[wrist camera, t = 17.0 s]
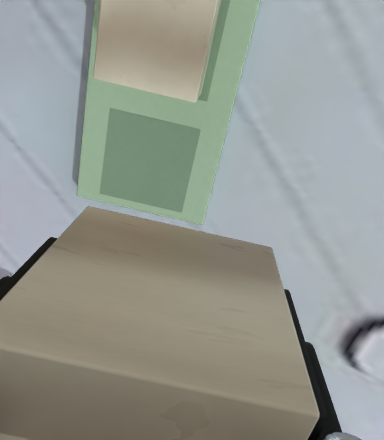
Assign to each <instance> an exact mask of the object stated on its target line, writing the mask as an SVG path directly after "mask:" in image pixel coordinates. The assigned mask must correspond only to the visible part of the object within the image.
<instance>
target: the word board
mask: <svg viewBox="0 0 384 440" xmlns="http://www.w3.org/2000/svg"><path fill="white" fill-rule="evenodd" d="M100 1H101V0H95V3H94V14H93V25H92V35H91V46H90V57H89V67H88V78H87V89H86V100H85V110H84V121H83V132H82V143H81V153H80V164H79V175H78V185H77V196H79V197H84V198H88V199H92V200H97V201H101V202H105V203H109V204H114V205H118V206H122V207H127V208H131V209H135V210H140V211H144V212H148V213H152V214H157V215H161V216H165V217H170V218H174V219H178V220H183V221H187V222H191V223H196V224H200V225H202V224H203V221H204V217H205V214H206V210H207V206H208V202H209V198H210V194H211V190H212V186H213V183H214V179H215V175H216V171H217V167H218V163H219V159H220V155H221V152H222V148H223V144H224V140H225V136H226V132H227V128H228V125H229V121H230V117H231V113H232V109H233V105H234V101H235V97H236V94H237V90H238V86H239V82H240V78H241V74H242V70H243V66H244V63H245V59H246V55H247V51H248V47H249V43H250V39H251V36H252V32H253V28H254V24H255V20H256V16H257V12H258V8H259V5H260V1H261V0H221V5H220V10H219V14H218V19H217V24H216V28H215V33H214V37H213V42H212V46H211V51H210V56H209V60H208V65H207V69H206V74H205V78H204V83H203V87H202V92H201V95H200V96H199V98H198V100H197V101H196V103H193V102H189V101H184V100H180V99H176V98H172V97H168V96H164V95H159V94H155V93H151V92H147V91H143V90H139V89H134V88H130V87H126V86H122V85H118V84H114V83H109V82H105V81H101V80H97V79H94V78H93V72H94V62H95V52H96V42H97V32H98V22H99V12H100Z"/></svg>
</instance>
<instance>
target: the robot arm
mask: <svg viewBox="0 0 384 440" xmlns="http://www.w3.org/2000/svg"><path fill="white" fill-rule="evenodd" d="M57 239H58V238H53V237H50V238H49V239H48V240H47V241H46V242H45V243H44V244H43V245H42V246H41V247H40V248H39V249H38V250H37V251H36V252H35V253H34V254H33V255H32V256H31V257H30V258H29V259H28V260H27V261H26V262H25V263H24V265H23V266H22V267H21V268H20V269H19V270H18V271H17V272H16V273H15V274H14V275H13V276H12V277H9V276H6V277H3V278H2V279H1V280H0V301H1V300H2V299H3V298H4V296H5V295H6V294H7V293H8V292H9V291H10V290H11V289H12V288H13V287H14V286H15V284H16V283H17V282H18V281H19V280H20V279H21V278H22V277H23V276H24V275H25V274H26V273H27V271H28V270H29V269H30V268H31V267H32V266H33V265H34V264H35V263H36V262H37V261H38V260H39V258H40V257H41V256H42V255H43V254H44V253H45V252H46V251H47V250H48V249H49V248H50V246H51V245H52V244H53V243H54V242H55V241H56V240H57ZM284 292H285V295H286V299H287V302H288V306H289V309H290V313H291V316H292V319H293V323H294V326H295V330H296V333H297V337H298V340H299V344H300V347H301V351H302V354H303V358H304V361H305V365H306V368H307V372H308V375H309V378H310V382H311V385H312V389H313V392H314V396H315V399H316V403H317V406H318V410H319V419H318V421H317V423H316V425H315V426H314V428H313V430H312V432H311V434H310V436H309V438H308V440H361V439H360V438H358V437H356V436H353V435H350V434H347V433H342V430H341V427H340V424H339V421H338V418H337V415H336V412H335V409H334V406H333V403H332V400H331V397H330V394H329V391H328V388H327V385H326V382H325V379H324V376H323V373H322V370H321V367H320V364H319V361H318V358H317V355H316V352H315V349H314V347H313V345H312V344H311V343H308V342H305V340H304V337H303V333H302V330H301V327H300V324H299V320H298V317H297V314H296V311H295V307H294V304H293V301H292V298H291V295H290V292H289V290H286V289H284Z"/></svg>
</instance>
